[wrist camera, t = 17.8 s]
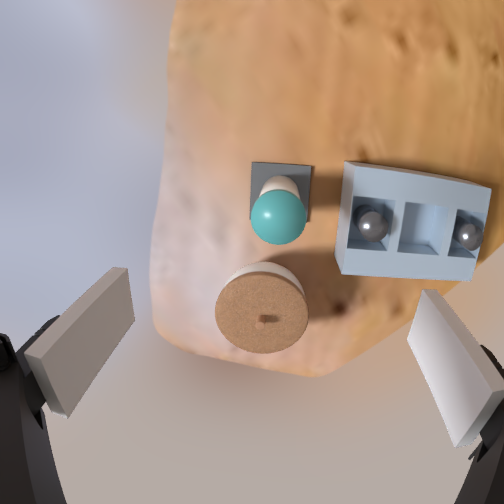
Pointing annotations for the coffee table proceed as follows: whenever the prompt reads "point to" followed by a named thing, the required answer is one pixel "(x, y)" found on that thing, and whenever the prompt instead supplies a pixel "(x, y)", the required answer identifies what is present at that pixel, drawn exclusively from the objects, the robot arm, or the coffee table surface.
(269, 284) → the lidded jar
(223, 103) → the coffee table surface
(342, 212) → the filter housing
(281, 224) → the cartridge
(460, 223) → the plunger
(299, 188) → the mat
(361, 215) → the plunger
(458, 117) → the coffee table surface
